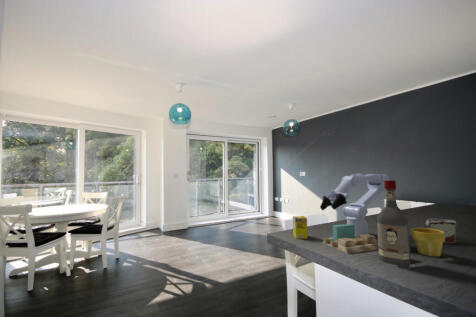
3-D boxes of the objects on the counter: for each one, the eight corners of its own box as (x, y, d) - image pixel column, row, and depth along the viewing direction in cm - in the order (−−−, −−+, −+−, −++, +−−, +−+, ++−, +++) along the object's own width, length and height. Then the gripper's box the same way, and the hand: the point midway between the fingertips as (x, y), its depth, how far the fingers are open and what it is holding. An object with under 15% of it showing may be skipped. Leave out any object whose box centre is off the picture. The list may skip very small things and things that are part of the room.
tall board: (351, 241, 108) (350, 223, 109) (355, 242, 106) (354, 224, 106) (333, 243, 105) (332, 225, 106) (337, 244, 103) (336, 226, 103)
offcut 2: (358, 245, 101) (357, 237, 101) (365, 248, 97) (365, 240, 97) (348, 247, 100) (348, 238, 100) (356, 249, 96) (355, 241, 96)
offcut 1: (346, 247, 99) (346, 237, 100) (353, 250, 95) (353, 240, 96) (338, 248, 98) (337, 238, 98) (345, 251, 94) (344, 241, 94)
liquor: (382, 256, 91) (377, 180, 93) (411, 261, 85) (405, 180, 87) (378, 263, 83) (373, 180, 86) (409, 269, 78) (403, 181, 80)
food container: (447, 239, 112) (446, 218, 113) (458, 243, 106) (456, 221, 106) (420, 239, 113) (419, 218, 114) (429, 242, 107) (428, 220, 108)
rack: (353, 240, 112) (353, 234, 112) (382, 251, 97) (382, 243, 97) (322, 244, 107) (321, 238, 107) (347, 256, 91) (347, 248, 92)
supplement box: (307, 240, 114) (307, 218, 115) (295, 240, 114) (295, 218, 115) (304, 237, 120) (304, 215, 121) (293, 237, 120) (292, 216, 121)
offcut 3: (368, 244, 103) (367, 234, 103) (375, 247, 99) (375, 236, 99) (360, 245, 101) (359, 235, 102) (367, 248, 98) (367, 237, 98)
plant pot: (410, 249, 98) (408, 226, 98) (441, 253, 93) (439, 228, 94) (415, 257, 88) (413, 232, 89) (450, 262, 84) (448, 234, 84)
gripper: (326, 187, 123) (312, 202, 117) (348, 182, 110) (333, 199, 104) (334, 197, 123) (320, 213, 117) (357, 194, 110) (342, 212, 104)
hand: (327, 208), depth 111 cm, fingers open, 7 cm apart
